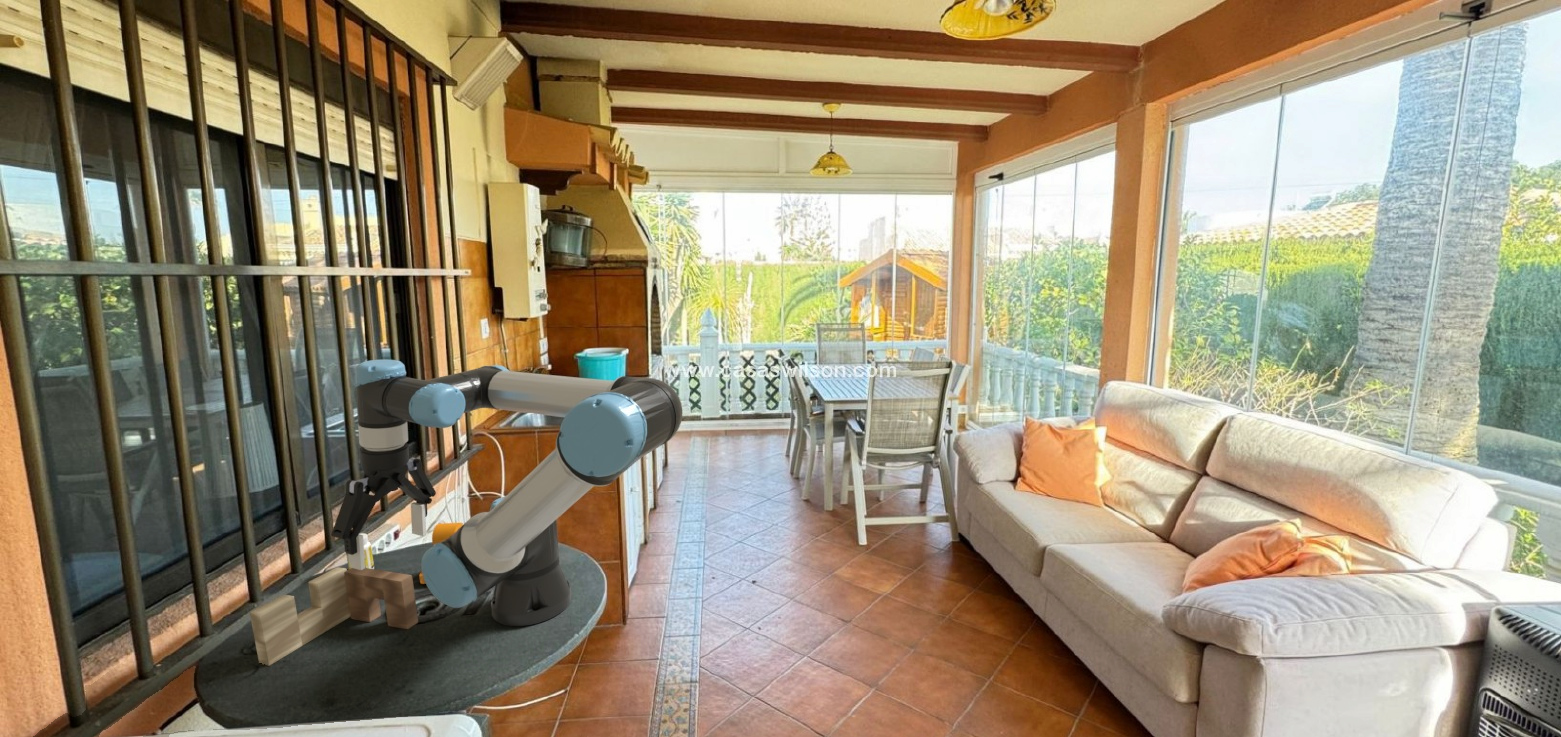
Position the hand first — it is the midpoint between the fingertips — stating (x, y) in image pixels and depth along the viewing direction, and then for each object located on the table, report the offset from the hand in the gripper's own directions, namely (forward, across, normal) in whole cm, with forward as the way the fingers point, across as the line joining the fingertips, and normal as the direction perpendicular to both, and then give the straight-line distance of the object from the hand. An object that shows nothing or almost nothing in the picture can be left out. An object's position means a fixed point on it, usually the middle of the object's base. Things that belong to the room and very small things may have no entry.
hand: (389, 550), depth 116 cm
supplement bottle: (+19, -14, -24) cm, 34 cm away
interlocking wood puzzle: (+17, +8, -12) cm, 22 cm away
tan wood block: (+16, 0, -2) cm, 16 cm away
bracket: (+17, -18, -4) cm, 25 cm away
